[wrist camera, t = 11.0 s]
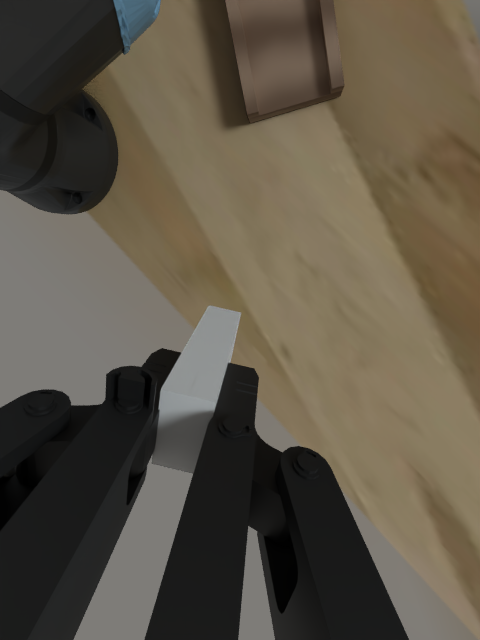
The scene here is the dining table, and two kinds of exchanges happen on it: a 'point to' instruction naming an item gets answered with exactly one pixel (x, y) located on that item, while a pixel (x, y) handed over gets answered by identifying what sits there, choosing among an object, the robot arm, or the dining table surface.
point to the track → (285, 54)
